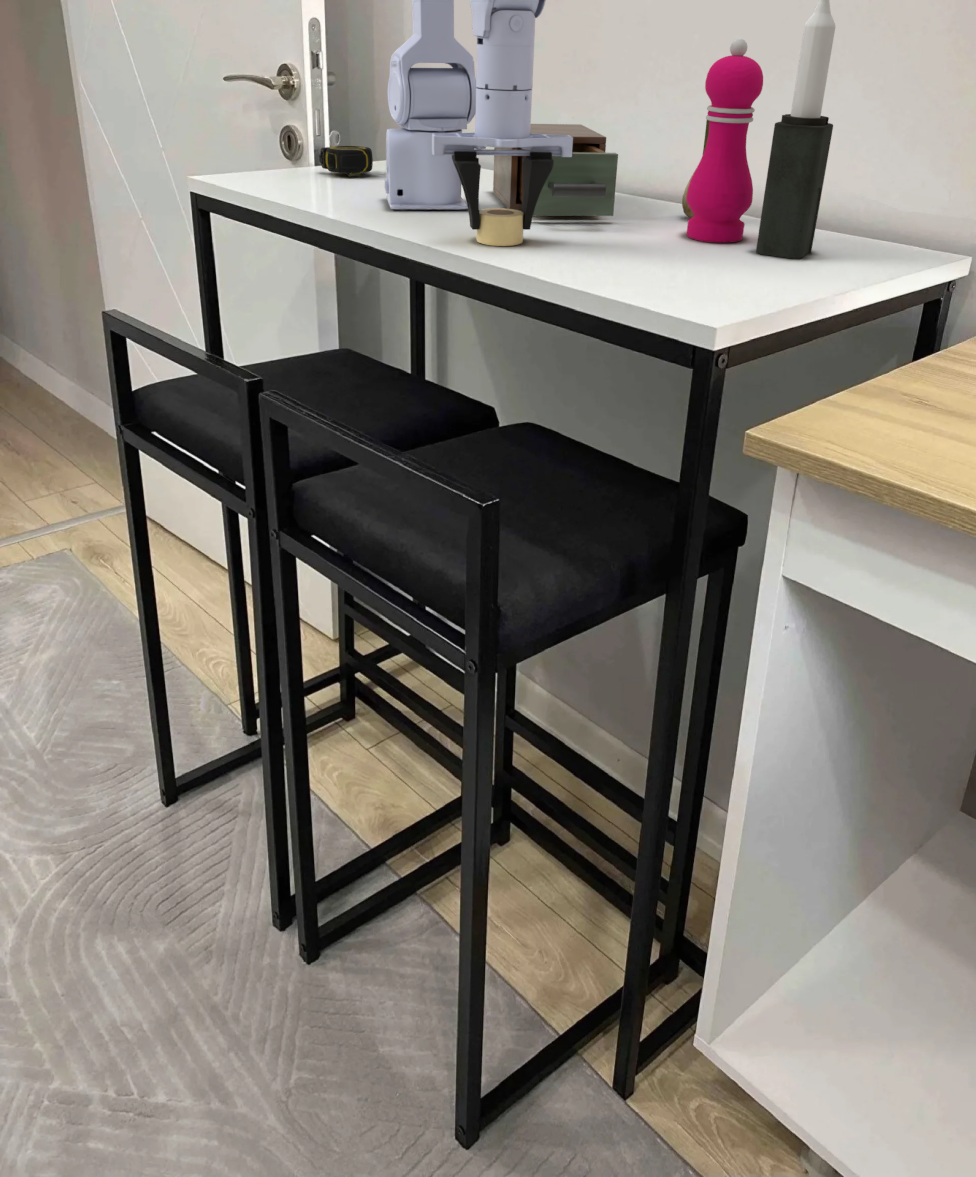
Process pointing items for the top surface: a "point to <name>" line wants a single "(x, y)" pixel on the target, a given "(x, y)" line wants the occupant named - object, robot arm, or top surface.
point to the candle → (800, 150)
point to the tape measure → (346, 159)
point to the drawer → (577, 184)
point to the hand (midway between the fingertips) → (499, 227)
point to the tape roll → (500, 227)
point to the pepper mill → (725, 150)
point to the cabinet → (509, 164)
